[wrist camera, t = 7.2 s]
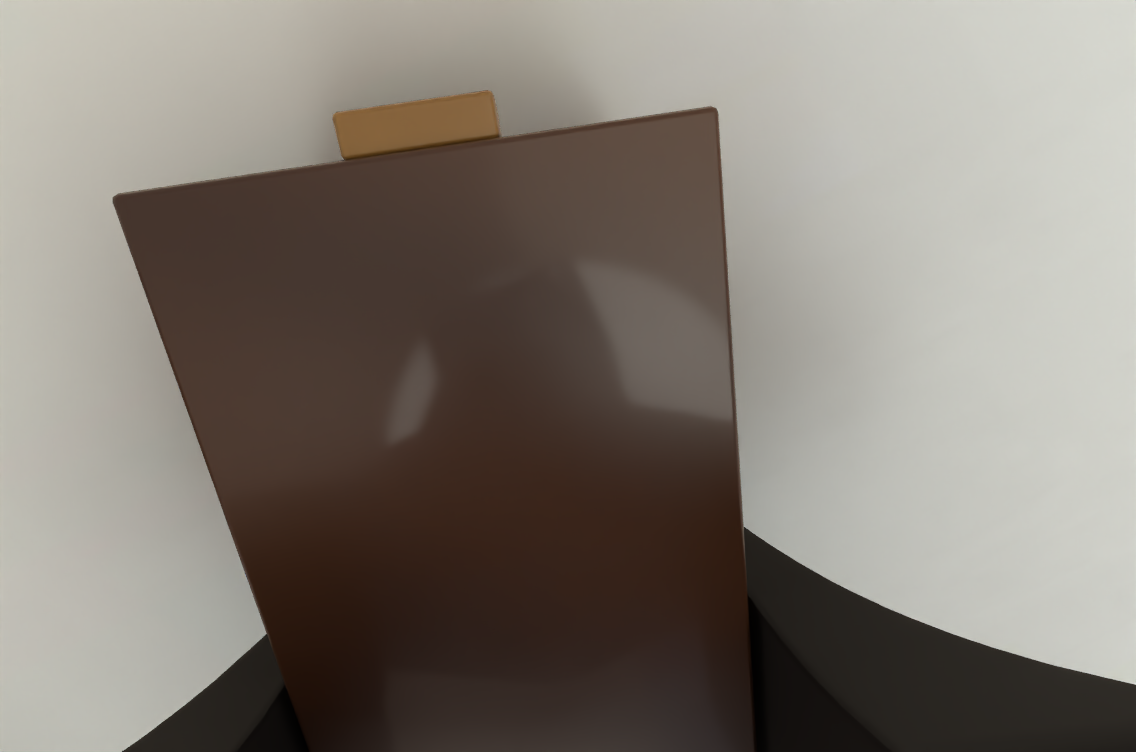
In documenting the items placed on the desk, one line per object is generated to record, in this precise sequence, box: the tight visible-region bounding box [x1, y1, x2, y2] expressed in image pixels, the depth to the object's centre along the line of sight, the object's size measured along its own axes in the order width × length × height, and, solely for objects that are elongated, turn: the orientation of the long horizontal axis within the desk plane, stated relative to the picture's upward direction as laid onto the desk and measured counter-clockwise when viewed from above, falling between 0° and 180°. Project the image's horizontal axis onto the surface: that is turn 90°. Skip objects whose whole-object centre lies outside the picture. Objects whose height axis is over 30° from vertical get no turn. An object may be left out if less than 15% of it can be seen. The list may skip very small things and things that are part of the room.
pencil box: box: [113, 90, 757, 752], centre depth 10 cm, size 14×5×6 cm, turn 8°
